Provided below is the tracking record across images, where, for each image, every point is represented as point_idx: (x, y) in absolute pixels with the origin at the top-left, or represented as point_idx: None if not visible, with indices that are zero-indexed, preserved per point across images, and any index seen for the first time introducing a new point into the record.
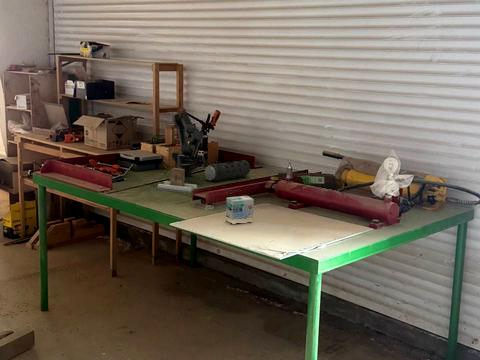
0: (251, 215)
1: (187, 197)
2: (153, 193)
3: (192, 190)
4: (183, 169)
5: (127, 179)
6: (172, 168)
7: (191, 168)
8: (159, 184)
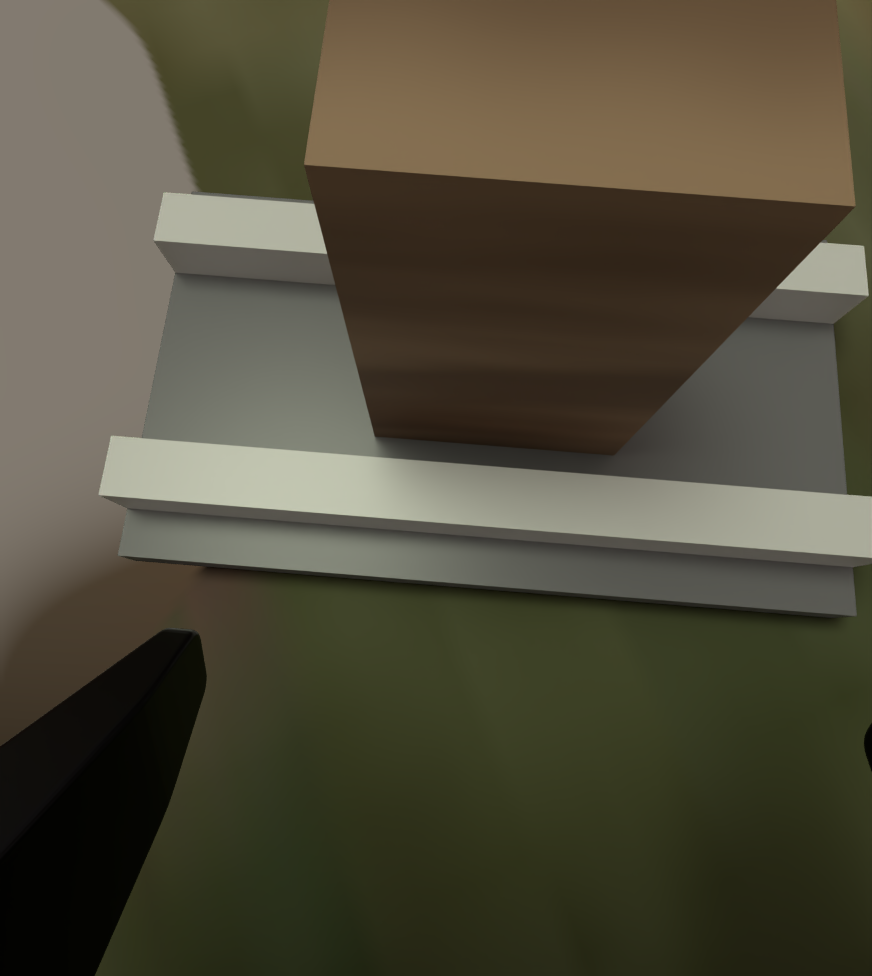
0: None
1: (160, 10)
2: None
3: (171, 326)
4: (319, 86)
5: None
6: (826, 90)
7: (121, 705)
8: (826, 243)
